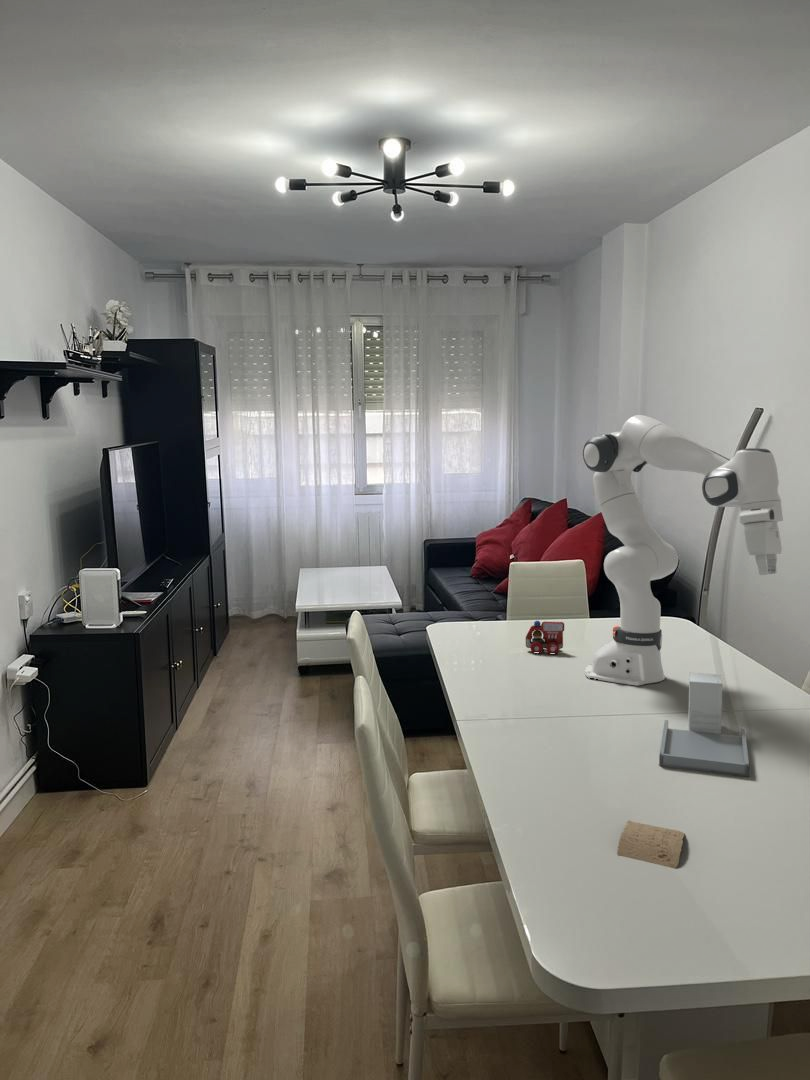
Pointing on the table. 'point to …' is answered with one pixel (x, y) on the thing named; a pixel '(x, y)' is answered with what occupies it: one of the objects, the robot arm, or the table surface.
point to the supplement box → (705, 703)
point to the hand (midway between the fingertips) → (768, 574)
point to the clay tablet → (651, 844)
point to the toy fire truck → (545, 637)
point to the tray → (704, 751)
